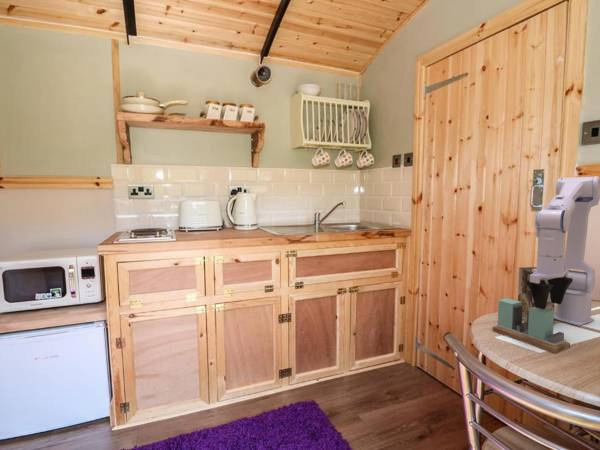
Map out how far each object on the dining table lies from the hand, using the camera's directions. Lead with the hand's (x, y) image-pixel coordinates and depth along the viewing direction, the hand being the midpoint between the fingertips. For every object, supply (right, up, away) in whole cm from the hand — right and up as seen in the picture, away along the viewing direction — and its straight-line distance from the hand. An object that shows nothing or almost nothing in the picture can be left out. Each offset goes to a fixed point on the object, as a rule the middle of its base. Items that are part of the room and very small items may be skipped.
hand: (548, 305), depth 89 cm
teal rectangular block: (-2, -8, 0) cm, 8 cm away
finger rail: (-3, -10, +3) cm, 11 cm away
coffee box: (+7, -9, +15) cm, 19 cm away
